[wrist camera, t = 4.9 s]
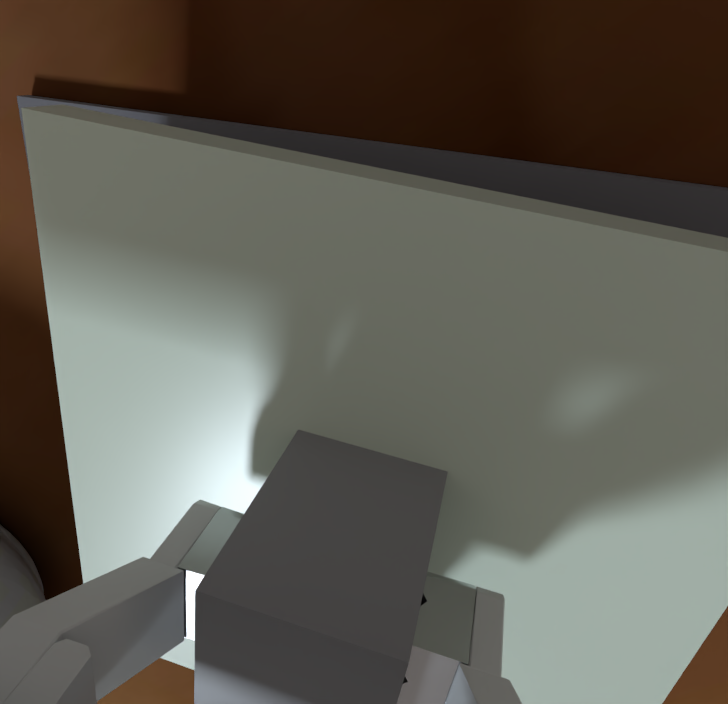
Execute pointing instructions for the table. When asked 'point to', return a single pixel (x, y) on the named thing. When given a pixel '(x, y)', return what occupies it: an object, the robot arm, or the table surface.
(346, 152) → the mat
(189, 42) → the table surface
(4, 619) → the teacup
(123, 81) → the table surface
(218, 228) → the lid
